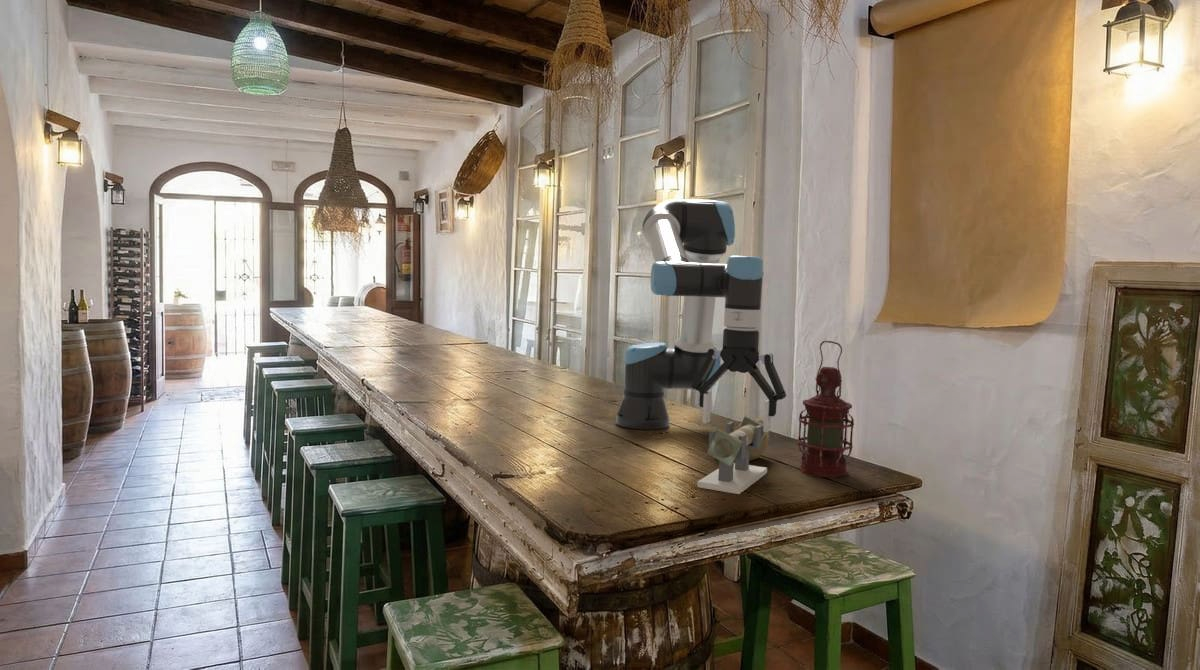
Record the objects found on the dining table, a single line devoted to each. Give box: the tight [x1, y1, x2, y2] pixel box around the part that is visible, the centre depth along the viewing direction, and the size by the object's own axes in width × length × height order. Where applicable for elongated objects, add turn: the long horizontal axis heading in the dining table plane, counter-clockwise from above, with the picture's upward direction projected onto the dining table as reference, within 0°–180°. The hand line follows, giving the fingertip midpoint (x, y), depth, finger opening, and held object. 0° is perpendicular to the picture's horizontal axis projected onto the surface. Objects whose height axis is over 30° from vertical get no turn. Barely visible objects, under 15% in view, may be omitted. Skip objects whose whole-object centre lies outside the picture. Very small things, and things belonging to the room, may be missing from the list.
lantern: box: [797, 340, 855, 479], centre depth 181 cm, size 12×12×30 cm
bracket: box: [697, 421, 768, 495], centre depth 172 cm, size 20×9×11 cm, turn 152°
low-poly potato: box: [717, 417, 770, 462], centre depth 192 cm, size 15×11×12 cm
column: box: [706, 415, 766, 466], centre depth 172 cm, size 20×5×5 cm, turn 152°
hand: (735, 426), depth 172 cm, fingers open, 13 cm apart
